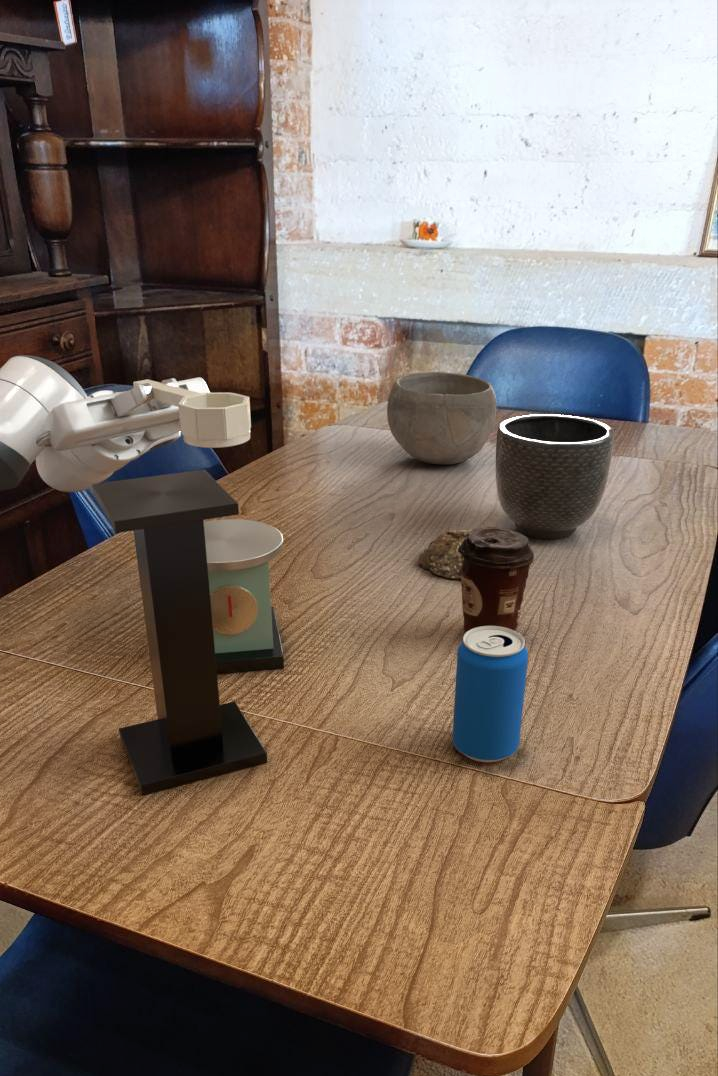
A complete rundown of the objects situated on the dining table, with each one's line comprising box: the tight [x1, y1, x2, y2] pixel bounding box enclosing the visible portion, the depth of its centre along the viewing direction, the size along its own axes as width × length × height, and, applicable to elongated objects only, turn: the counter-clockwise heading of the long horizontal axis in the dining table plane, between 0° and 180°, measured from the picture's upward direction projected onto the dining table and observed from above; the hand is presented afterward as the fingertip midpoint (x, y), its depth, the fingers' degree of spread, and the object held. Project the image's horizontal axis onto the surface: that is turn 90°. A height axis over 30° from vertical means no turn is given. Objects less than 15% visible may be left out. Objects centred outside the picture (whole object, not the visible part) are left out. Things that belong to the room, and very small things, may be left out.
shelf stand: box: [92, 469, 268, 796], centre depth 79 cm, size 10×12×26 cm
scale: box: [204, 518, 285, 675], centre depth 101 cm, size 13×13×14 cm
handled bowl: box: [133, 379, 252, 449], centre depth 95 cm, size 17×7×4 cm, turn 46°
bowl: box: [386, 371, 498, 465], centre depth 168 cm, size 21×21×15 cm
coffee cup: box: [458, 526, 535, 636], centre depth 103 cm, size 9×8×13 cm
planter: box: [495, 414, 616, 540], centre depth 134 cm, size 17×17×16 cm
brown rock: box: [417, 529, 472, 581], centre depth 124 cm, size 13×12×5 cm
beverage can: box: [451, 626, 529, 763], centre depth 83 cm, size 6×6×12 cm
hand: (160, 387), depth 97 cm, fingers closed on handled bowl, 2 cm apart
